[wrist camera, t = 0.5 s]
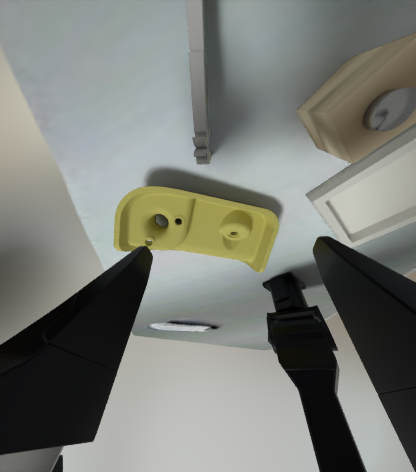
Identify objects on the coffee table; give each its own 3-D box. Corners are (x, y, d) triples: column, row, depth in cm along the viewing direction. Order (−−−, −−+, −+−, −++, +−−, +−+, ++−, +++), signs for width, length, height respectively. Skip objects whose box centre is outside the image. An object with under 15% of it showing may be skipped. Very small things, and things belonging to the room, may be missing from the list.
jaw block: (368, 107, 14) (457, 108, 9) (317, 147, 16) (361, 167, 11) (350, 57, 12) (448, 19, 7) (295, 110, 14) (337, 113, 9)
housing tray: (441, 194, 18) (461, 202, 17) (338, 240, 24) (346, 250, 22) (427, 114, 14) (451, 115, 12) (305, 194, 20) (312, 202, 18)
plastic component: (284, 213, 19) (260, 281, 22) (259, 207, 26) (243, 259, 29) (117, 175, 16) (112, 260, 19) (140, 180, 23) (134, 241, 26)
